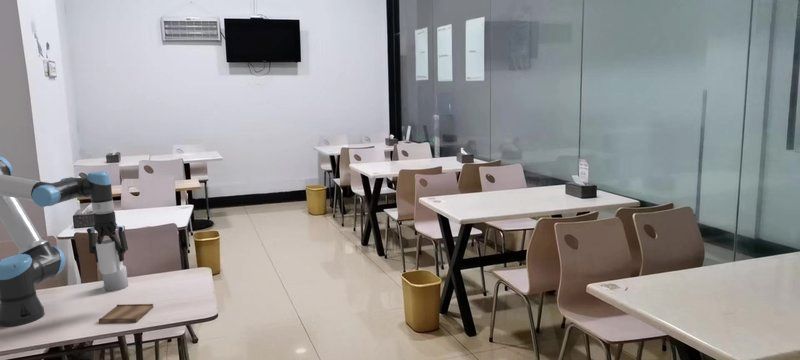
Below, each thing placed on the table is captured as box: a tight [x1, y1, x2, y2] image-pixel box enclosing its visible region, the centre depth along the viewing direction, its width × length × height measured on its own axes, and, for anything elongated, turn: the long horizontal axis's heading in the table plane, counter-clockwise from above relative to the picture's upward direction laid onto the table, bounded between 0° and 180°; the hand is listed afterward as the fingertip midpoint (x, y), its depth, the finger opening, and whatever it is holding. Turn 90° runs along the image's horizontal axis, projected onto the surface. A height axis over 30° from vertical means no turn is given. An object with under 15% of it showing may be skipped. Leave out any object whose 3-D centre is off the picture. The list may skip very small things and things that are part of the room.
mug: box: [95, 238, 118, 275], centre depth 225 cm, size 10×7×12 cm, turn 167°
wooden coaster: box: [98, 303, 154, 324], centre depth 220 cm, size 14×14×2 cm
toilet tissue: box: [102, 264, 129, 293], centre depth 252 cm, size 9×13×9 cm
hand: (111, 269), depth 226 cm, fingers closed on mug, 6 cm apart
